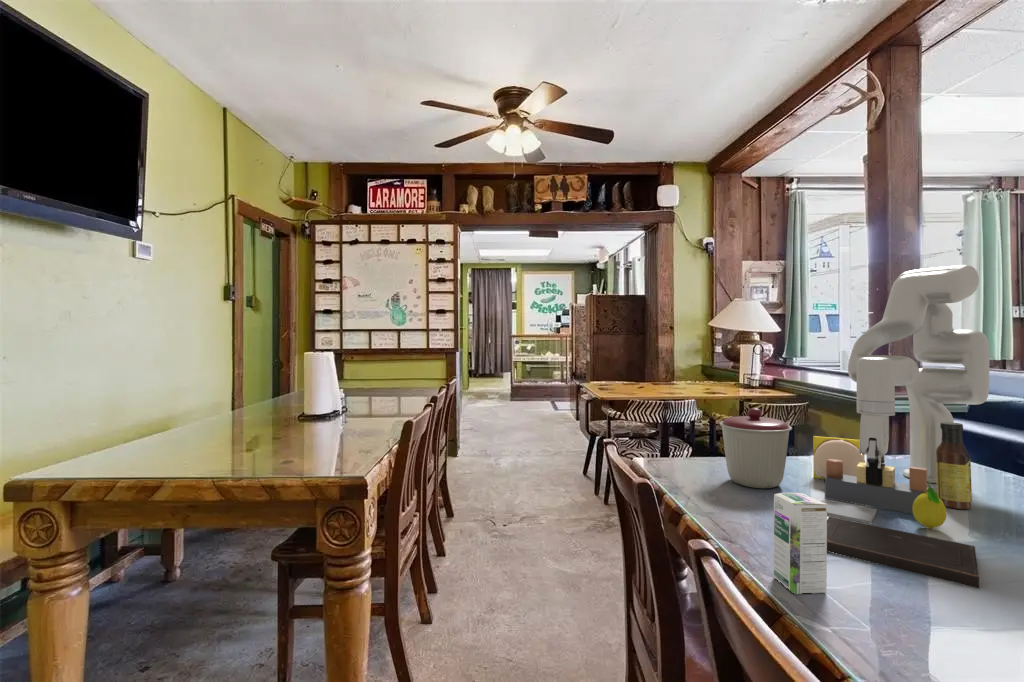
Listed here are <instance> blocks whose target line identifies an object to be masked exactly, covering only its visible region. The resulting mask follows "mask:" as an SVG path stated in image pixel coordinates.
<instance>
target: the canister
mask: <svg viewBox="0 0 1024 682" xmlns="http://www.w3.org/2000/svg"><path fill="white" fill-rule="evenodd" d="M762 414H763V412H762V410H761V409H759V408H757V407H752V408H749V409H748V410H747V415H743V416H741V415H740V416H731V417H727V418H725V419H724V420H722V421H720V422H719V425H720V427H722V428H721V429H722V438H723V445H724V446H723V447H724V448H723V449H724V455H725V460H726V461H725V462H726V468H727V473H728V475H729V478H730V479H731V481H732V482H734V483H735V484H738V485H740V486H744V487H749V488H753V489H772V488H776V487H778V486H779V485H780V484H781V483H782V481H783V479H784V476H785V469H786V463H787V462H786V461H787V453H788V443H789V438H790V437H789V436H790V431H792V430H793V427H792V426H791V425H789V424H788V423H786V422H785V421H783V420H780V419H777V418H771V417H765V416H762Z"/></svg>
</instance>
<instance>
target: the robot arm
mask: <svg viewBox="0 0 1024 682" xmlns="http://www.w3.org/2000/svg"><path fill="white" fill-rule="evenodd" d="M979 284H980V277H979V274H978V271H977V269H976V268H975V267H973V266H972V265H970V264H959V265H958V264H957V265H951V266H950V265H949V266H948V265H947V266H938V267H927V268H926V267H925V268H919V269H912V270H908V271H904V272H902V273H901V274H899V275H898V277H897V278H896V279H895V280H894V281H893V284H892V286H891V290H890V292H889V295H888V299H887V302H886V305H885V309H884V312H883V316H882V319H881V320H880V321H878V322H877V323H875V324H874V325H872V326H871V327H870V328H869V329H867V330H866V331H864V333H862V334H861V335H860V336H859V337H858V338H857V339H856V341H855V342H854V344H853V346H852V350H851V353H850V357H849V359H848V363H847V364H848V365H847V373H848V376H849V378H850V379H851V380H852V381H853V382H855V383H856V413H857V414H861V415H860V421H859V423H860V424H859V440H860V445H859V453H860V454H864V455H865V454H866V460H865V463H866V483H867V484H872V485H878V486H882V469H881V465H883V466H886V464H885V455H886V454H887V453H888V450H889V440H890V439H889V437H890V417H891V416H892V417H893V416H895V415H896V396H895V395H896V393H895V391H896V390H895V389H896V387H905V389H906V394H907V398H908V405H909V467H910V466H912V467H919V468H926V469H927V483H928V482H930V484H931V483H932V484H937V479H936V460H937V459H936V449H937V447H938V446H939V445H940V444H941V442H942V439H941V438H942V429H941V428H940V423H942V422H953V423H955V421H954V417H953V415H952V413H951V412H950V411H949V409H948V408H947V407H946V406H945V405H944V404H959V405H960V404H961V405H971V406H972V405H975V406H977V405H981V404H984V403H985V402H986V401H987V399H988V398H989V393H990V359H991V358H990V352H991V351H990V343H989V340H988V337H987V336H986V334H985V333H984V332H983V331H980V330H976V329H954V328H953V318H954V317H953V311H952V309H951V307H949V306H948V305H947V304H953V303H954V304H955V303H959V302H961V301H963V300H965V299H967V298H969V297H971V296H972V295H974V294H975V292H976V291H977V290H978V287H979ZM912 335H913V339H912V341H913V343H912V348H913V349H912V350H913V356H914V358H915V360H917V361H918V362H922V363H928V364H946V365H948V364H949V365H950V364H951V365H962V366H963V367H964V369H962V368H960V369H959V368H947V367H946V368H942V367H921V368H919V366H918V365H919V364H917V362H916V361H915V360H914V359H913V358H911V357H908V356H904V355H884V354H883V355H880V354H877V355H876V354H873V353H874V351H876V350H877V349H879V348H880V347H882V346H885V345H887V344H889V343H893V342H895V341H899V340H902V339H904V338H908V337H910V336H912ZM943 403H944V404H943ZM902 472H903V475H904V476H905V477H906V478H909V468H905V469H903V471H902Z"/></svg>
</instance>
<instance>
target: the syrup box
mask: <svg viewBox="0 0 1024 682" xmlns="http://www.w3.org/2000/svg"><path fill="white" fill-rule="evenodd" d="M827 519H828V515H827V504H825V503H824V502H821V501H819V500H817V499H815V498H813V497H810V496H808V495H807V494H806V493H801V492H780V493H774V495H773V559H772V560H773V563H772V564H773V565H772V566H773V572H772V573H773V574H772V575H773V579H774V578H776V579H777V580H778V582H779V583H780V582H781V583H782V584H783V585H784V586H783V585H782V584H781V583H780V584H781V585H782V586H783V587H784V588H786V589H787V588H788V589H789V591H790V592H791V593H792V594H793V593H794V594H793V595H803V594H802V593H812V594H823V593H824V594H825V593H827V585H828V584H827V577H828V575H827V572H828V571H827V562H828V559H827V558H828V557H827V556H828V552H827ZM777 580H776V581H777ZM788 589H787V590H788Z"/></svg>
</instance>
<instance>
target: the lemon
mask: <svg viewBox="0 0 1024 682" xmlns="http://www.w3.org/2000/svg"><path fill="white" fill-rule="evenodd" d="M930 484H931V483H930V482H927V487H928V489H927V491H925V492H923V493H921V494H920V495H919V496H918V497H917V498H916V499H915V501H914V503H913V509H912V510H913V514H912V515H913V517H914V519H915V520H916V521H917V522H918V523H919V524H921V525H922V526H924V527H926V528H927V529H929V530H932V529H933V528H936V527H940V526H942V525H943V524H944V523H945V522H946V519H947V515H948V514H947V507H946V506H945V505H944V503H943V502H942V500H941V499H940V498H938V495H937V491H936V490H935V488H932V487H931V485H930Z"/></svg>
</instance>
